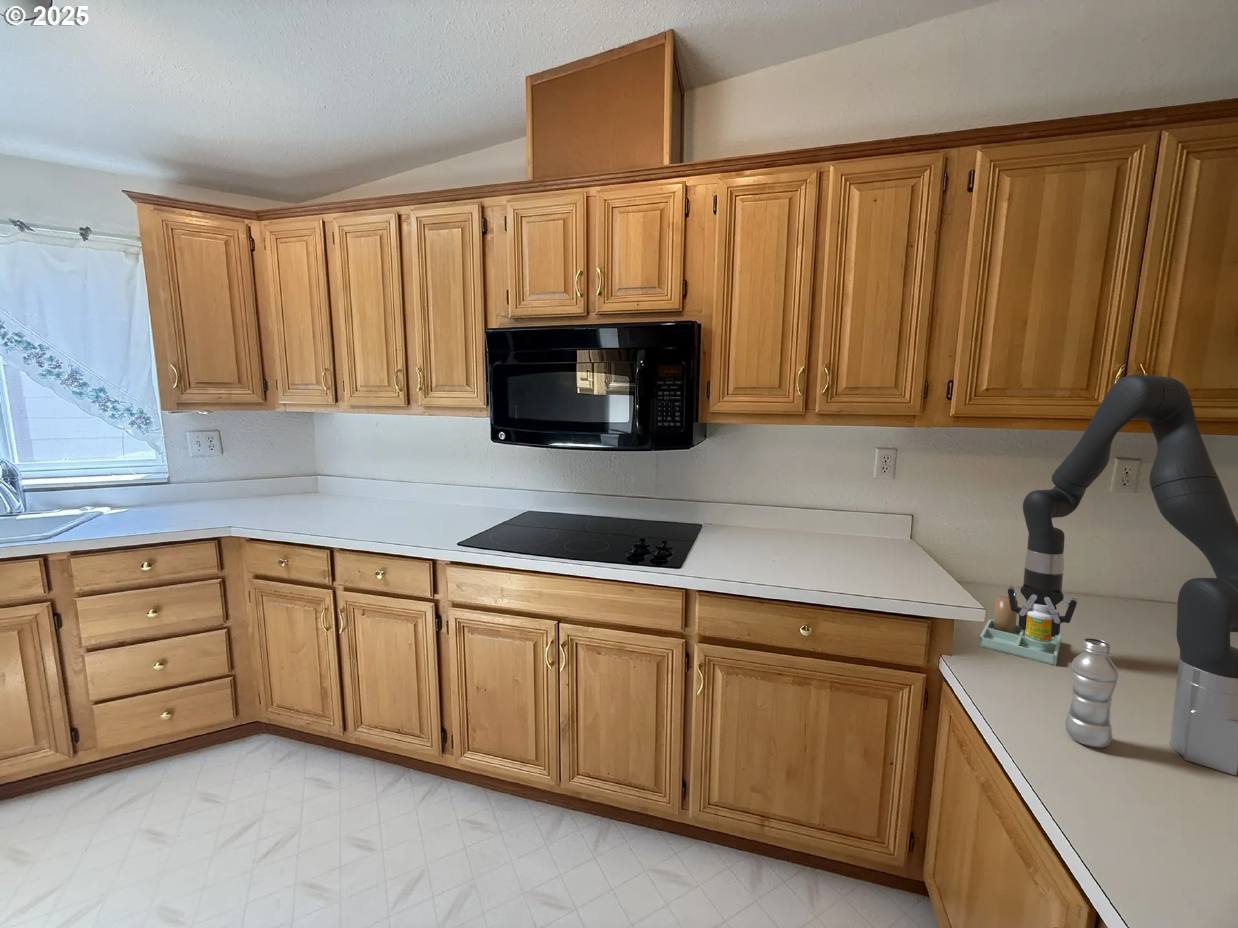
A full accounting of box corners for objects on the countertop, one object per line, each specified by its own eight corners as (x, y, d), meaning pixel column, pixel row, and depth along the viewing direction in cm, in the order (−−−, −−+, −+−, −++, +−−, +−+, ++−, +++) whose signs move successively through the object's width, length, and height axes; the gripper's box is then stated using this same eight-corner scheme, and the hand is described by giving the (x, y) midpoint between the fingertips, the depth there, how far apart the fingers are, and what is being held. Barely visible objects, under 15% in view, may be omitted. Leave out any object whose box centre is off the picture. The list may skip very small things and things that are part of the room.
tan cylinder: (1014, 639, 141) (1016, 604, 140) (992, 634, 144) (994, 599, 143) (1016, 633, 144) (1018, 599, 143) (995, 628, 147) (997, 594, 146)
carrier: (1055, 665, 128) (1056, 656, 127) (978, 646, 138) (979, 637, 138) (1060, 643, 139) (1061, 634, 139) (988, 626, 150) (989, 618, 150)
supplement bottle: (1026, 641, 132) (1029, 604, 131) (1022, 633, 137) (1025, 597, 136) (1054, 645, 129) (1057, 608, 128) (1048, 637, 134) (1051, 600, 133)
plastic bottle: (1063, 726, 104) (1071, 631, 102) (1109, 739, 100) (1119, 640, 98) (1064, 743, 99) (1073, 643, 97) (1113, 757, 95) (1123, 653, 93)
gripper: (1006, 565, 133) (1001, 629, 135) (1081, 578, 123) (1075, 646, 125) (1010, 559, 138) (1005, 619, 140) (1082, 570, 129) (1076, 635, 131)
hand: (1038, 631), depth 133 cm, fingers closed on supplement bottle, 5 cm apart
